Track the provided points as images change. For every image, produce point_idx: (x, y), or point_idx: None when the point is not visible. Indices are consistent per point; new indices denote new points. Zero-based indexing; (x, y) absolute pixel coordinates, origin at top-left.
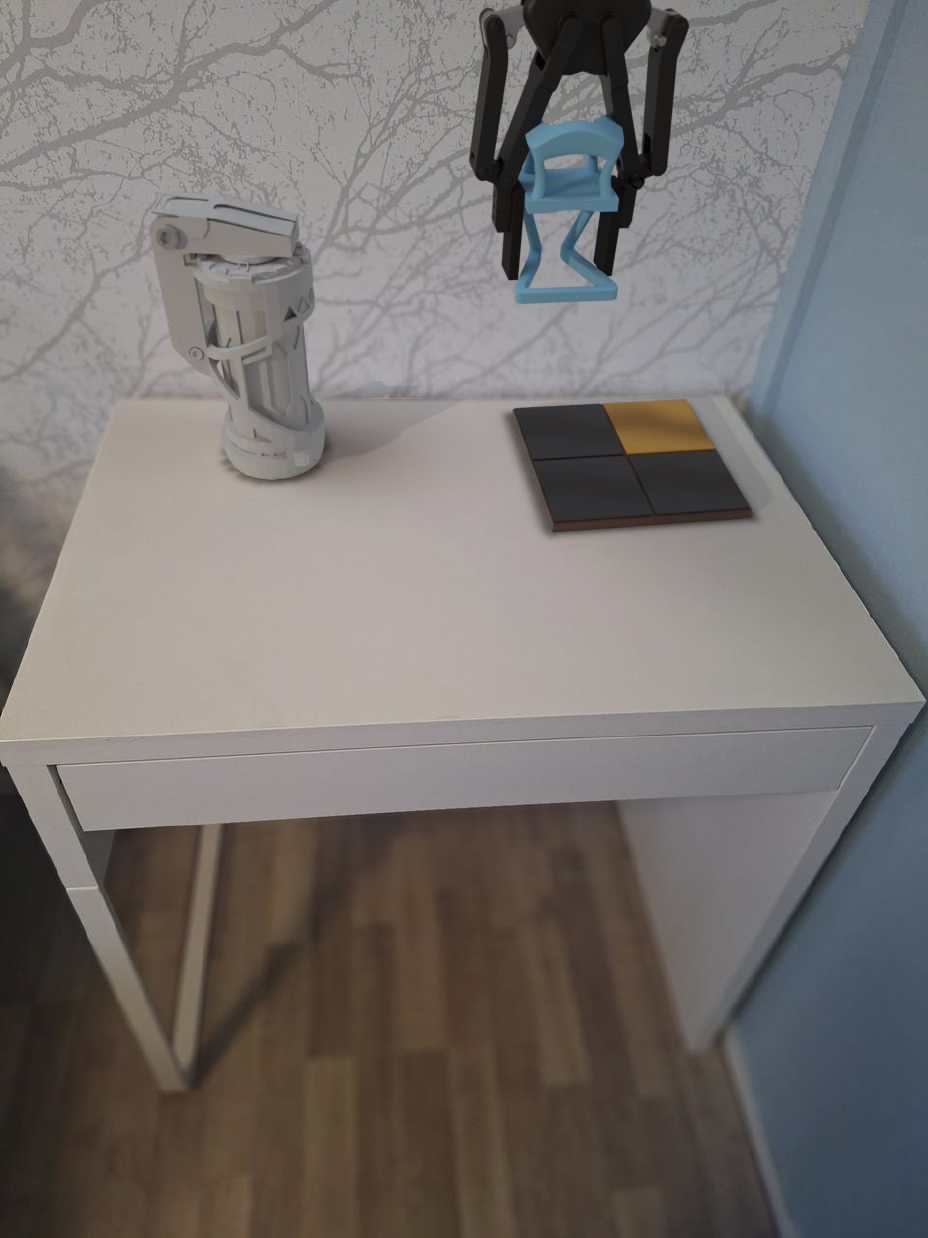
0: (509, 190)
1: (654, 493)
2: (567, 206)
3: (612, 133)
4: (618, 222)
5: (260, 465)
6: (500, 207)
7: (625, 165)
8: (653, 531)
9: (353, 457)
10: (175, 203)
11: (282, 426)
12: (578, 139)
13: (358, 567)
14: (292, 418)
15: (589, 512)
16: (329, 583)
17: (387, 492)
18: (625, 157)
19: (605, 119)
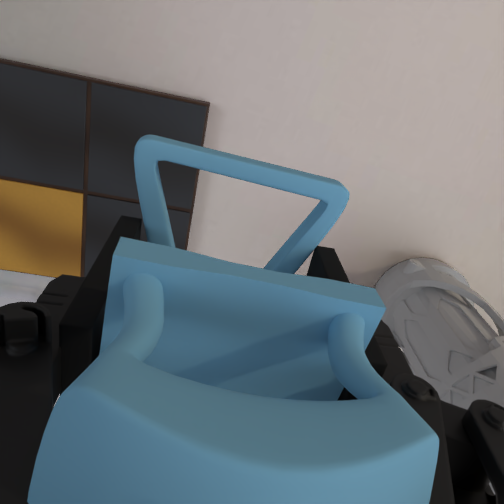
0: (389, 378)
1: (75, 117)
2: (272, 277)
3: (102, 450)
4: (93, 273)
5: (451, 267)
6: (393, 352)
7: (43, 378)
8: (96, 66)
9: (352, 270)
10: None
11: (444, 288)
12: (277, 435)
13: (419, 112)
14: (430, 297)
15: (163, 108)
16: (454, 98)
17: (344, 213)
18: (37, 399)
19: None
